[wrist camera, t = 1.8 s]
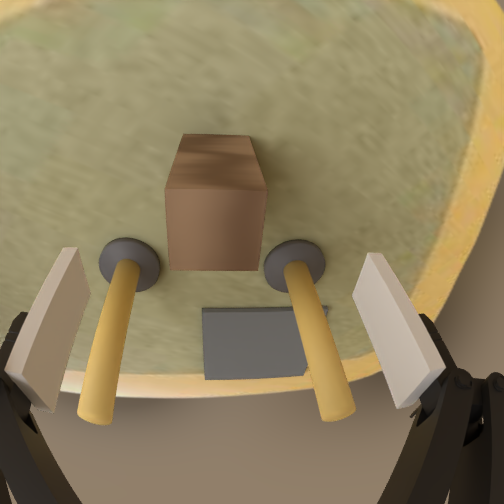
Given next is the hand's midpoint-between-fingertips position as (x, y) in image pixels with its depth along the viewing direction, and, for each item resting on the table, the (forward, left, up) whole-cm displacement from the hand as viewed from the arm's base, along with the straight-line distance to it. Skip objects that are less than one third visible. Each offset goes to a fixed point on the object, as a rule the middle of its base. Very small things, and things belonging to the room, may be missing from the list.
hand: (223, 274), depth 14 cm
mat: (+6, -23, -13) cm, 27 cm away
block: (0, 0, -13) cm, 13 cm away
